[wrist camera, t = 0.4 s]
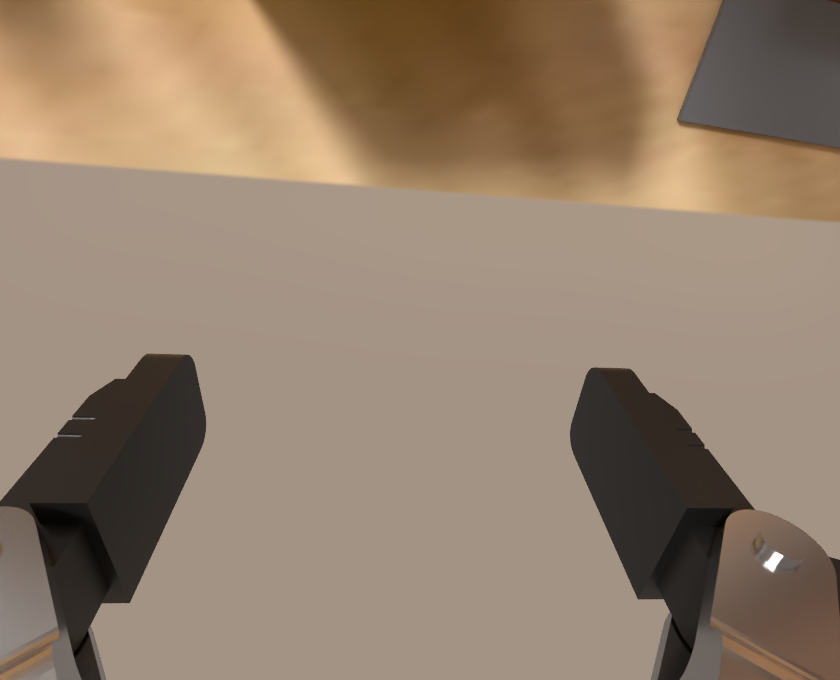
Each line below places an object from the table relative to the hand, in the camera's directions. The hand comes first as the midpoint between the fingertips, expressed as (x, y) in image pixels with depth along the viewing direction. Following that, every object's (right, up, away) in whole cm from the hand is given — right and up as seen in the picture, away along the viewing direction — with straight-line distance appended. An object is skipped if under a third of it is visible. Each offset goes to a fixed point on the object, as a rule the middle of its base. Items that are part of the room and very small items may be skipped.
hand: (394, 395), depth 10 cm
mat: (+27, +19, +23) cm, 41 cm away
